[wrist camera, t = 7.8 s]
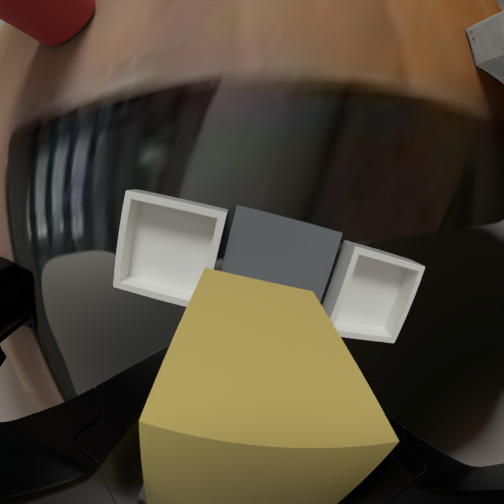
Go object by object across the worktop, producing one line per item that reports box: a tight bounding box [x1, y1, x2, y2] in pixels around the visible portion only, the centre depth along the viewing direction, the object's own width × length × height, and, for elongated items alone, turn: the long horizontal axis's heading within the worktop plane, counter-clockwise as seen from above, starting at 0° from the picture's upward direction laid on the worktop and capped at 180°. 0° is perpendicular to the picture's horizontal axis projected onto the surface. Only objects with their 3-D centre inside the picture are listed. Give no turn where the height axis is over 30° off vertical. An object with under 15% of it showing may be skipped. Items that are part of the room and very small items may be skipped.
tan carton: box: [139, 268, 399, 504], centre depth 7 cm, size 4×4×7 cm
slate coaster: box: [221, 205, 342, 302], centre depth 20 cm, size 8×8×1 cm
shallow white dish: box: [113, 190, 228, 307], centre depth 19 cm, size 7×7×2 cm
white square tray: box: [322, 240, 425, 343], centre depth 20 cm, size 7×7×2 cm
